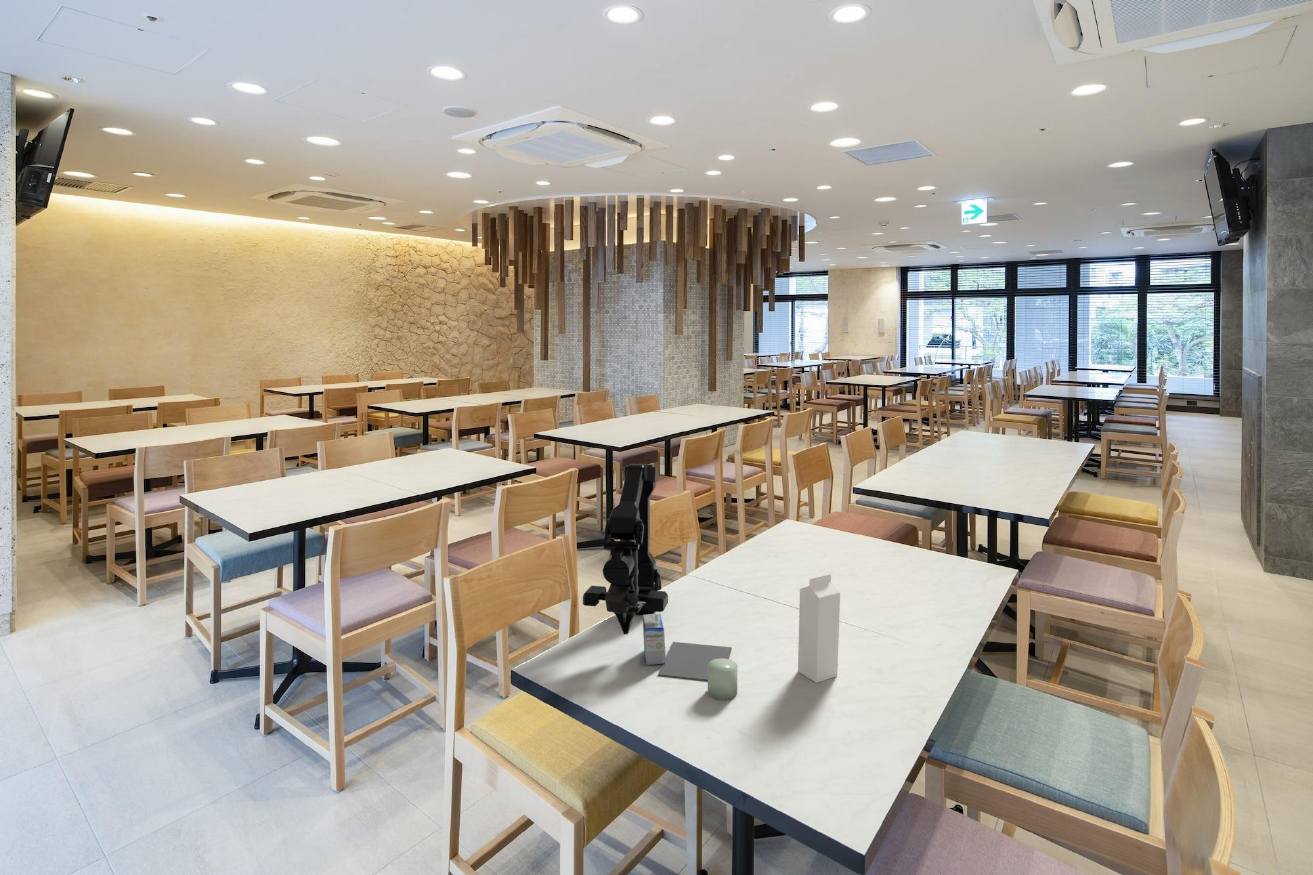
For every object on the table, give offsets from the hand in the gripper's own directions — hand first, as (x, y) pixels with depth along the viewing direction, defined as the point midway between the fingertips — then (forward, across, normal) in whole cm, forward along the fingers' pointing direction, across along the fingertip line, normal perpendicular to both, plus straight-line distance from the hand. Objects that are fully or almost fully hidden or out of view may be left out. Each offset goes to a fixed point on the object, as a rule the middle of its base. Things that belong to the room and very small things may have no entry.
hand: (626, 633), depth 158 cm
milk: (+5, +43, 0) cm, 43 cm away
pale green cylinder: (+5, +24, -12) cm, 27 cm away
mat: (+5, +16, 0) cm, 17 cm away
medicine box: (+5, +7, 0) cm, 8 cm away
